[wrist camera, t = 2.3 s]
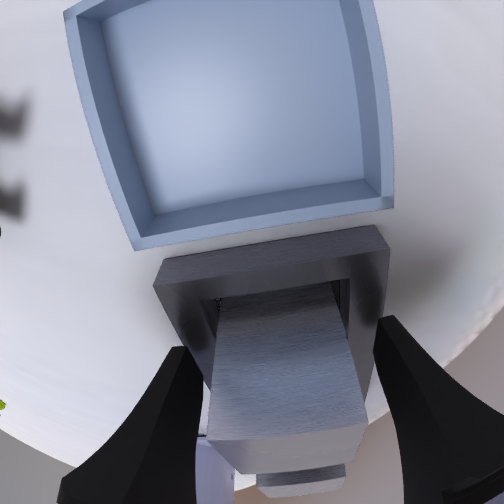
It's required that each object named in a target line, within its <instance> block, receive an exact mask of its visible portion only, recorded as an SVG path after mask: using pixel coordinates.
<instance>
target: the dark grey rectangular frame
mask: <svg viewBox="0 0 504 504" xmlns="http://www.w3.org/2000/svg"><path fill="white" fill-rule="evenodd" d="M389 258H390V247H389V246H388V244H387V243H386V241H385V240H384V238H383V237H382V236H381V234H380V233H379V231H378V230H377V228H376V227H375V226H374V225H371V226H365V227H358V228H352V229H346V230H339V231H333V232H327V233H321V234H314V235H308V236H302V237H296V238H290V239H284V240H277V241H271V242H265V243H259V244H253V245H247V246H241V247H235V248H229V249H223V250H217V251H211V252H205V253H199V254H193V255H187V256H181V257H175V258H169V259H164V260H163V262H162V265H161V267H160V269H159V272H158V274H157V277H156V279H155V282H154V284H153V287H154V290H155V292H156V294H157V296H158V298H159V300H160V302H161V304H162V306H163V308H164V310H165V312H166V314H167V315H168V317H169V319H170V321H171V323H172V325H173V327H174V329H175V331H176V333H177V334H178V336H179V338H180V340H181V342H182V344H183V345H184V346H187V347H188V349H189V350H190V352H191V354H192V356H193V358H194V359H195V361H196V363H197V365H198V366H199V368H200V370H201V372H202V373H203V380H204V382H205V383H206V385H207V387H208V388H209V390H210V391H211V385H212V375H213V366H214V356H215V347H216V339H217V330H218V321H219V312H218V309H217V306H216V304H215V301H214V299H216V298H223V297H230V296H238V295H245V294H252V293H259V292H265V291H272V290H278V289H285V288H291V287H297V286H304V285H310V284H316V283H322V282H327V281H333V280H339V279H340V316H341V320H342V323H343V326H344V330H345V333H346V337H347V340H348V344H349V347H350V351H351V354H352V358H353V362H354V365H355V369H356V373H357V377H358V381H359V384H360V388H361V392H362V396H363V400H364V403H365V399H366V395H367V391H368V387H369V383H370V379H371V374H372V370H373V365H374V355H373V346H374V341H375V335H376V328H377V322H378V318H381V317H382V316H383V309H384V302H385V295H386V287H387V278H388V268H389Z"/></svg>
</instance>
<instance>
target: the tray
mask: <svg viewBox="0 0 504 504" xmlns="http://www.w3.org/2000/svg"><path fill="white" fill-rule="evenodd" d="M63 16H64V22H65V29H66V35H67V40H68V46H69V51H70V56H71V61H72V66H73V70H74V75H75V79H76V83H77V87H78V91H79V95H80V99H81V103H82V107H83V110H84V114H85V117H86V121H87V124H88V128H89V131H90V134H91V138H92V141H93V144H94V147H95V150H96V153H97V156H98V159H99V162H100V165H101V168H102V171H103V174H104V177H105V179H106V182H107V185H108V188H109V190H110V193H111V196H112V198H113V201H114V203H115V206H116V209H117V211H118V214H119V216H120V219H121V221H122V223H123V226H124V228H125V231H126V233H127V235H128V238H129V240H130V242H131V245H132V247H133V249H134V251H139V250H144V249H149V248H155V247H160V246H165V245H171V244H176V243H182V242H187V241H193V240H198V239H204V238H209V237H215V236H221V235H226V234H232V233H238V232H244V231H250V230H255V229H261V228H267V227H273V226H279V225H286V224H292V223H298V222H304V221H310V220H317V219H323V218H330V217H336V216H343V215H349V214H356V213H363V212H369V211H376V210H383V209H390V208H394V152H393V131H392V117H391V105H390V95H389V86H388V78H387V71H386V64H385V57H384V51H383V46H382V40H381V35H380V30H379V25H378V21H377V16H376V12H375V7H374V3H373V0H82V1H81V2H79V3H77V4H75V5H74V6H72V7H70V8H68V9H67V10H65V11H64V12H63Z"/></svg>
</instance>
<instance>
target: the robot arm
mask: <svg viewBox="0 0 504 504" xmlns="http://www.w3.org/2000/svg"><path fill="white" fill-rule="evenodd" d="M373 355H374V360H375V364H376V368H377V372H378V376H379V379H380V382H381V385H382V388H383V390H384V393H385V396H386V399H387V402H388V405H389V408H390V411H391V414H392V417H393V420H394V424H395V427H396V432H397V438H398V443H399V449H400V456H401V464H402V473H403V484H404V504H504V415H502V414H501V413H499V412H497V411H496V410H494V409H492V408H491V407H490V406H488V405H487V404H485V403H484V402H482V401H481V400H479V399H478V398H476V397H475V396H474V395H473V394H471V393H470V392H469V391H467V390H466V389H465V388H464V387H462V386H461V385H460V384H459V383H458V382H457V381H455V380H454V379H453V378H452V377H451V376H450V375H449V374H448V373H446V372H445V370H444V369H443V368H442V367H441V366H439V365H438V364H437V363H436V362H435V360H434V359H433V358H432V357H431V356H430V355H429V354H428V353H427V352H426V351H425V350H424V349H423V348H422V347H421V346H420V345H419V343H418V342H417V341H416V340H415V339H414V338H413V337H412V336H411V335H410V333H409V332H408V331H407V330H406V329H405V328H404V326H403V325H402V324H401V323H400V322H399V321H398V319H397V318H396V317H395V316H394V315H390V316H386V317H381V318H378V322H377V328H376V335H375V341H374V346H373ZM202 402H203V373H202V372H201V370H200V368H199V366H198V365H197V363H196V361H195V359H194V358H193V356H192V354H191V352H190V350H189V349H188V347H187V346H175V347H172V348H171V350H170V351H169V353H168V355H167V356H166V358H165V360H164V361H163V363H162V365H161V367H160V368H159V370H158V372H157V373H156V375H155V377H154V378H153V380H152V381H151V383H150V385H149V386H148V388H147V390H146V391H145V393H144V394H143V396H142V397H141V399H140V400H139V402H138V403H137V404H136V406H135V407H134V409H133V410H132V412H131V413H130V414H129V416H128V417H127V418H126V420H125V421H124V422H123V423H122V425H121V426H120V427H119V428H118V429H117V431H116V432H115V433H114V434H113V435H112V436H111V437H110V438H109V439H108V441H107V442H106V443H105V444H104V445H103V446H102V447H101V448H100V449H99V450H97V451H96V452H95V453H94V454H93V455H92V456H91V457H90V458H88V459H87V460H86V461H85V462H84V463H82V464H81V465H80V466H79V467H77V468H76V469H74V470H73V471H72V472H70V473H69V474H67V475H66V476H65V477H63V478H62V480H61V484H60V489H59V493H58V498H57V503H58V504H234V474H235V468H234V467H233V466H232V465H231V464H230V463H229V462H228V461H226V460H225V459H224V458H223V457H222V456H221V455H220V454H219V453H218V452H217V451H216V450H215V449H214V448H213V447H212V446H211V445H210V444H209V443H208V442H207V441H206V437H198V430H199V423H200V416H201V409H202Z"/></svg>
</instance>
